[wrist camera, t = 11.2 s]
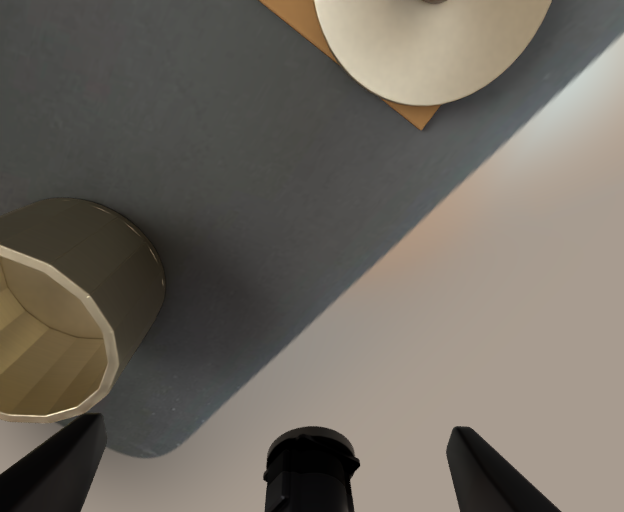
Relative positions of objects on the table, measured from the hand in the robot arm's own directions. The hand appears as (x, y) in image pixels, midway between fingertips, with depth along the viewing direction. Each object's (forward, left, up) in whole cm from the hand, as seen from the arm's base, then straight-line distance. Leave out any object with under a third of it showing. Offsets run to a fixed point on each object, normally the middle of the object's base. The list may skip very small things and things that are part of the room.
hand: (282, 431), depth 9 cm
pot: (+9, +9, -13) cm, 18 cm away
